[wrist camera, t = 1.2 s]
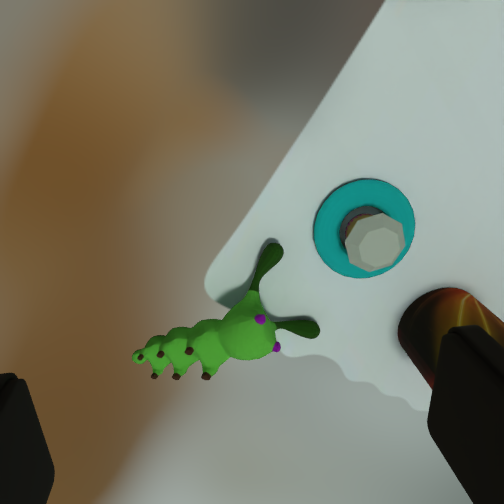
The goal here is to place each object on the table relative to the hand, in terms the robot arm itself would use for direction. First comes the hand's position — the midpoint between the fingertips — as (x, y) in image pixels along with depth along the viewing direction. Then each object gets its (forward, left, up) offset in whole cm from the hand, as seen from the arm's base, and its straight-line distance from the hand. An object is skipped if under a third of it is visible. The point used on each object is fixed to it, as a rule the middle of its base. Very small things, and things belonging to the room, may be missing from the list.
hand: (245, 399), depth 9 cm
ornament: (+1, +19, -28) cm, 34 cm away
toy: (+19, +1, -24) cm, 31 cm away
